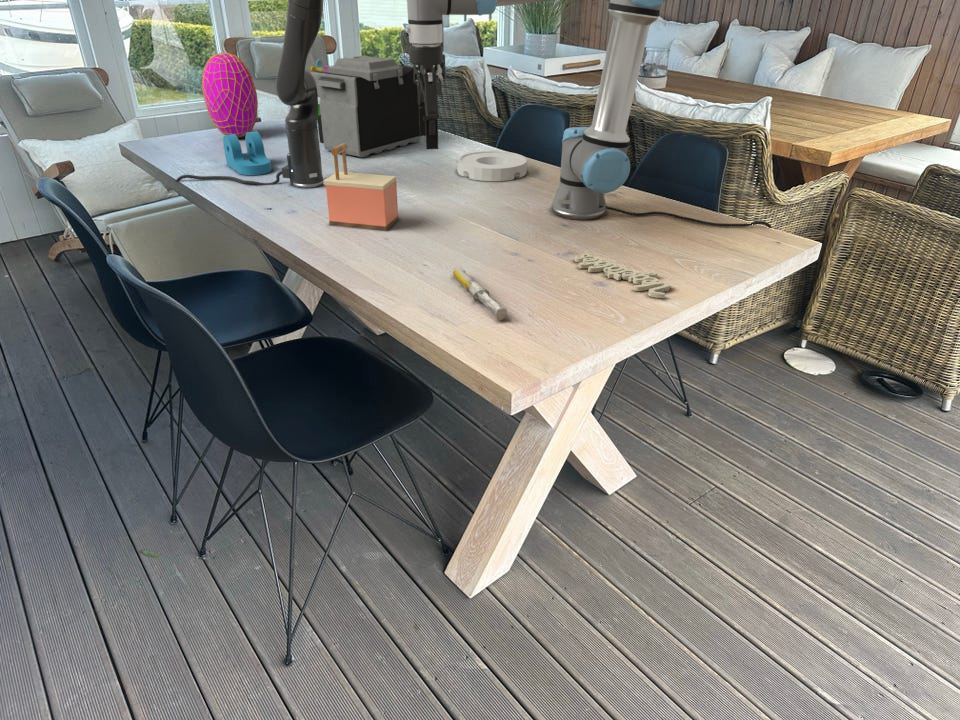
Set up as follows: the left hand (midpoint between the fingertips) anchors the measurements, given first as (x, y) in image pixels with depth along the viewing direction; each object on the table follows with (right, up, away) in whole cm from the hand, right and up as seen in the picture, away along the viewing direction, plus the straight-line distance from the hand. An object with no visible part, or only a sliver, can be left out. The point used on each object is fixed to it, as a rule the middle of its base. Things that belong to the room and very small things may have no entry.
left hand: (430, 97), depth 188 cm
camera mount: (-63, -8, +41) cm, 75 cm away
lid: (-18, -26, -9) cm, 32 cm away
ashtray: (+18, -9, +41) cm, 45 cm away
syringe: (+13, -59, -43) cm, 74 cm away
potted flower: (-53, +30, +106) cm, 122 cm away
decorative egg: (-81, +15, +79) cm, 115 cm away
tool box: (-27, +8, +70) cm, 75 cm away
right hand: (+1, -20, -24) cm, 32 cm away
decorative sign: (+46, -53, -33) cm, 78 cm away
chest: (-17, -35, -4) cm, 39 cm away
